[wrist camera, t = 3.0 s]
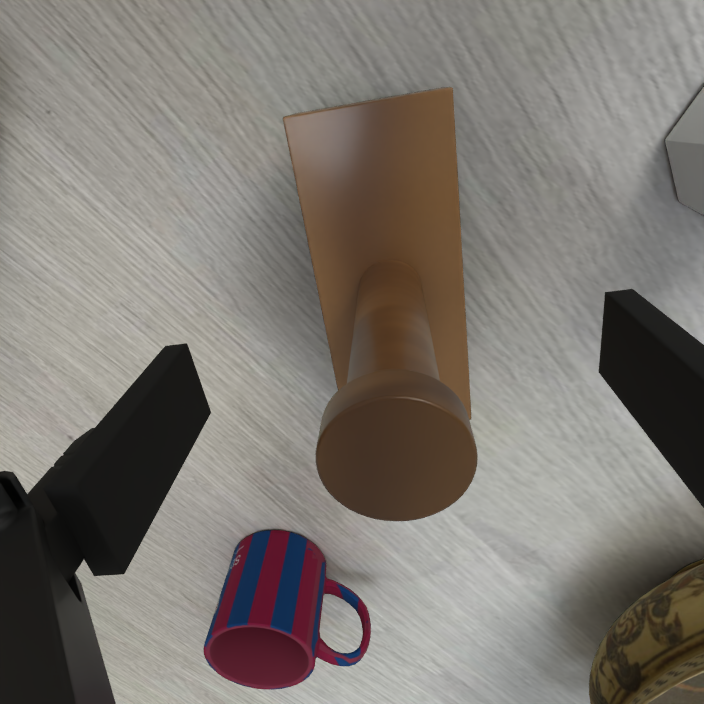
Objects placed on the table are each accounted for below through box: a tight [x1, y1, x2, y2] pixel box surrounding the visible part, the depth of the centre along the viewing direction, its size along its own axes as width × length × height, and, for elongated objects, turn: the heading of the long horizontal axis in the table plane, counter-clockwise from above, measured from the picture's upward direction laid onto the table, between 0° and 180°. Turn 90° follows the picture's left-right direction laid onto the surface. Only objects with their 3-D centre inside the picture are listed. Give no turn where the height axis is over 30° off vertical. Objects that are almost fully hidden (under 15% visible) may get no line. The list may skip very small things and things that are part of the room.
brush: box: [283, 87, 477, 521], centre depth 18 cm, size 6×14×15 cm, turn 9°
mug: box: [204, 530, 371, 689], centre depth 33 cm, size 7×10×7 cm
